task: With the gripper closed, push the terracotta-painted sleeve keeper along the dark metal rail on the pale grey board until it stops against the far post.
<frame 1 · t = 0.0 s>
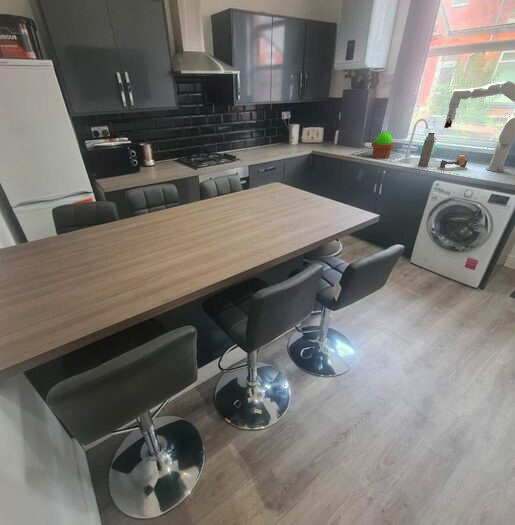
hand: (447, 127, 262), 31 cm above the breakfast bar, tool pointing down, fingers open, 9 cm apart
potted cactus: (380, 156, 309), on the breakfast bar
thermos bottle: (422, 165, 270), on the breakfast bar
rail: (451, 168, 258), on the breakfast bar
keeper: (460, 160, 256), point 7 cm above the breakfast bar, slide at -6.0 cm
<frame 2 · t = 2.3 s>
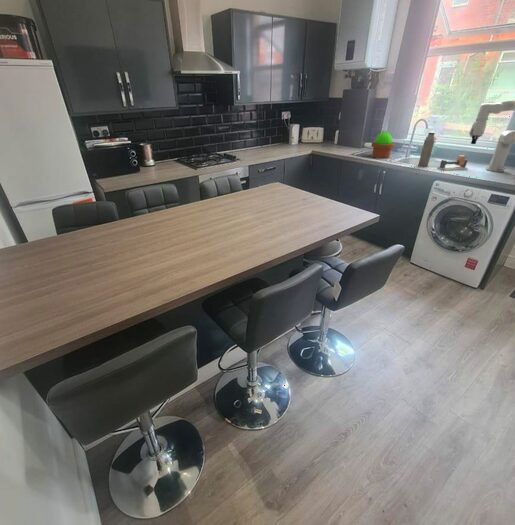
hand: (473, 143, 250), 20 cm above the breakfast bar, tool pointing down, fingers closed
nothing on the breakfast bar moved.
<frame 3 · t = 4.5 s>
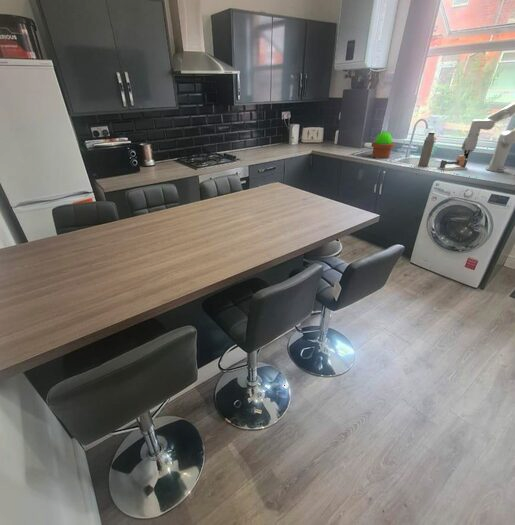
hand: (465, 158, 255), 8 cm above the breakfast bar, tool pointing down, fingers closed
keeper: (460, 160, 256), point 7 cm above the breakfast bar, slide at -5.9 cm, touching gripper
everything else where it was.
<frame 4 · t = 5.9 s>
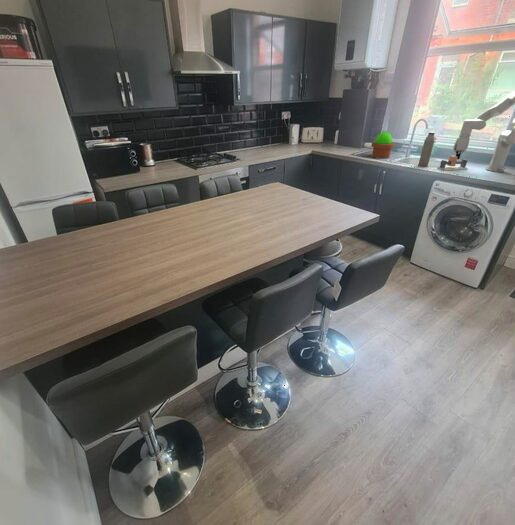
hand: (457, 158, 254), 8 cm above the breakfast bar, tool pointing down, fingers closed
keeper: (452, 160, 255), point 7 cm above the breakfast bar, slide at 2.0 cm, touching gripper
everything else where it was.
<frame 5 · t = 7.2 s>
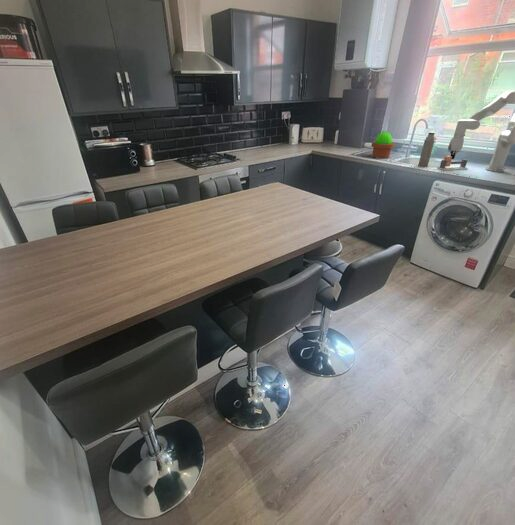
hand: (451, 158, 254), 8 cm above the breakfast bar, tool pointing down, fingers closed
keeper: (447, 161, 254), point 7 cm above the breakfast bar, slide at 7.0 cm, touching gripper, rail
everything else where it was.
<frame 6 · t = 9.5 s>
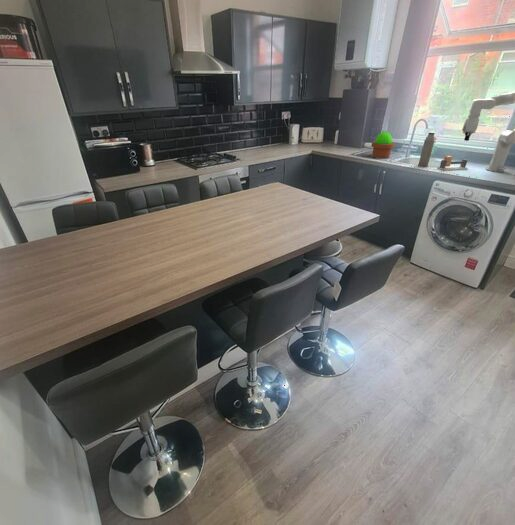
hand: (466, 140, 248), 23 cm above the breakfast bar, tool pointing down, fingers closed
keeper: (447, 161, 254), point 7 cm above the breakfast bar, slide at 7.0 cm
everything else where it was.
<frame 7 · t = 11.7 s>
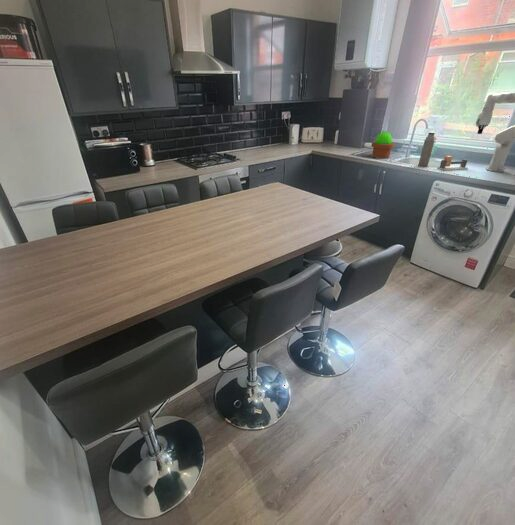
hand: (479, 133, 254), 27 cm above the breakfast bar, tool pointing down, fingers closed
nothing on the breakfast bar moved.
at the end: keeper slide at 7.0 cm; keeper touching nothing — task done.
